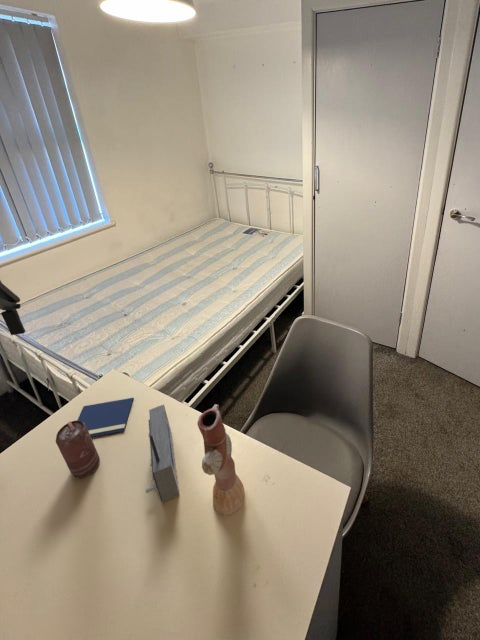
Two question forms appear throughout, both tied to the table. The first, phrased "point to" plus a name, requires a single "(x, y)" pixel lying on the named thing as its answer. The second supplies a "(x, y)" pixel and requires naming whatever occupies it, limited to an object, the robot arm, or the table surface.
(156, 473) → the electronic device
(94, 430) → the book
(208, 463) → the vase
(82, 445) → the can
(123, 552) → the table surface
